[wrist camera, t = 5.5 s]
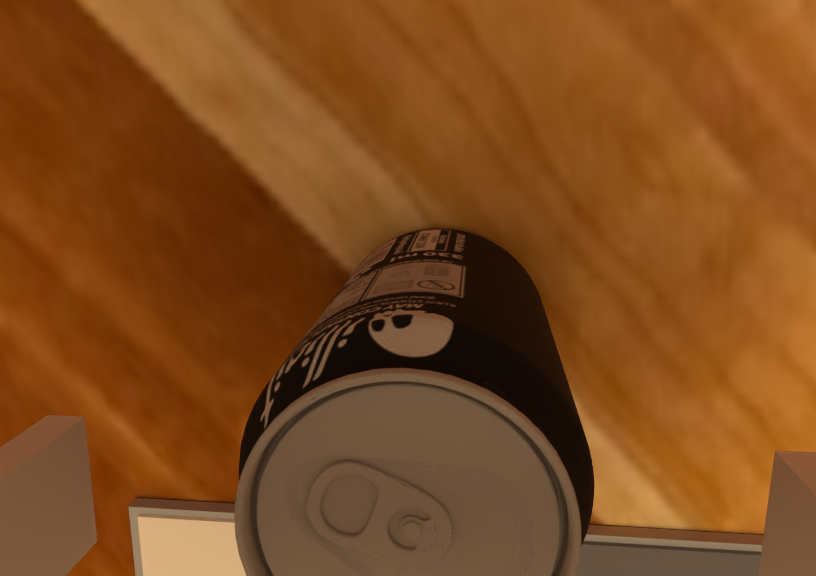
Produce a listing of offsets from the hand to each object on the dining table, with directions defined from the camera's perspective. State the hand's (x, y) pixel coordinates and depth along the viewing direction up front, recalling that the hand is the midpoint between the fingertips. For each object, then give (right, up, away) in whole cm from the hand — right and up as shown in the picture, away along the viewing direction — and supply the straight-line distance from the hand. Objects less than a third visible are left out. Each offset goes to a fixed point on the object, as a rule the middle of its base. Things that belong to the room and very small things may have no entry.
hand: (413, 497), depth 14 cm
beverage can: (+1, +3, +10) cm, 10 cm away
